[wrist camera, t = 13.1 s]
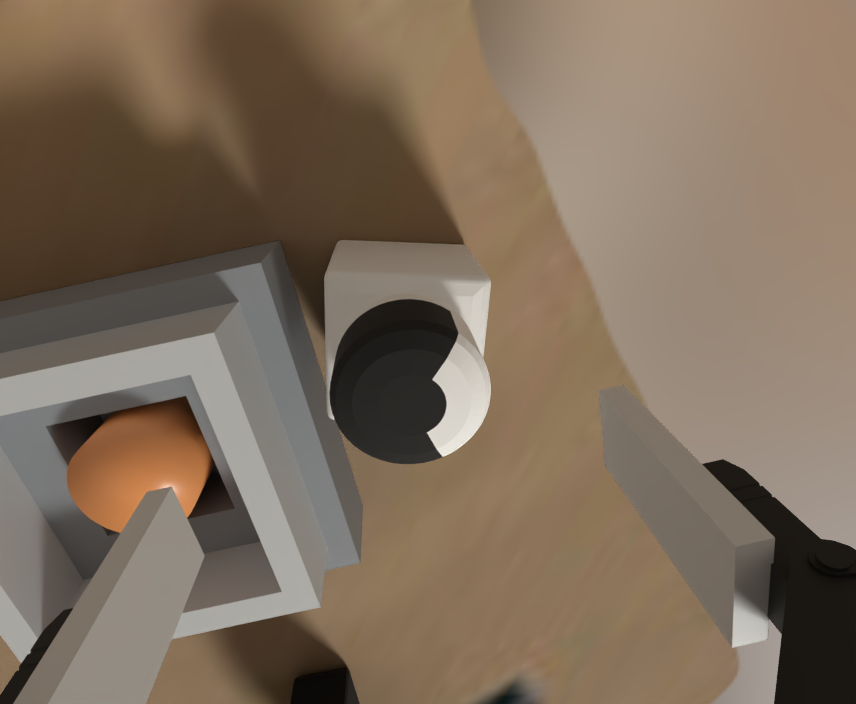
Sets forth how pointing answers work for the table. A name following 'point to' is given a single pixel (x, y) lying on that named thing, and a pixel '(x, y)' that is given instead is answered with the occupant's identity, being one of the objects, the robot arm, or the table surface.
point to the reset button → (140, 461)
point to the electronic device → (325, 689)
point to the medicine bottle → (406, 347)
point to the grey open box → (217, 418)
